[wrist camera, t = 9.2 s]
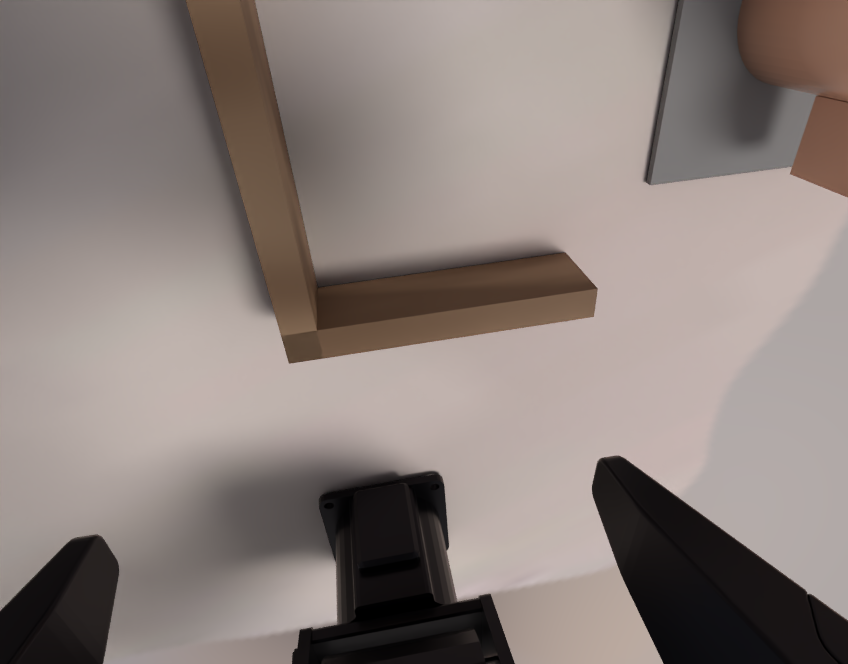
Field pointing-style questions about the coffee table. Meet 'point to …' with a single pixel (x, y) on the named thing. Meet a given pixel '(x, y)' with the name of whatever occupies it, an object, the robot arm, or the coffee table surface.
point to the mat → (720, 104)
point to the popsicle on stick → (805, 75)
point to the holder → (288, 247)
